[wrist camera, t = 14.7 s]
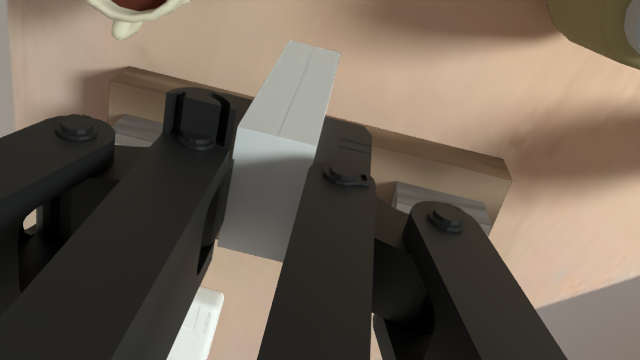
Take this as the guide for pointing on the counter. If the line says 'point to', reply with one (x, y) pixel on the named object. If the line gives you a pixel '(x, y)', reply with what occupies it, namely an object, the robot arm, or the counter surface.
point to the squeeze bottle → (601, 26)
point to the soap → (198, 327)
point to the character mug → (133, 13)
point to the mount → (386, 158)
